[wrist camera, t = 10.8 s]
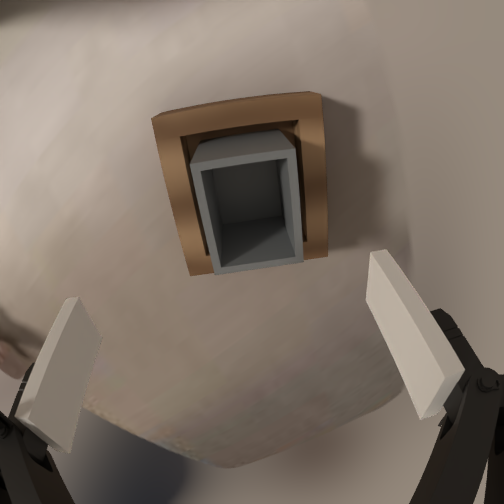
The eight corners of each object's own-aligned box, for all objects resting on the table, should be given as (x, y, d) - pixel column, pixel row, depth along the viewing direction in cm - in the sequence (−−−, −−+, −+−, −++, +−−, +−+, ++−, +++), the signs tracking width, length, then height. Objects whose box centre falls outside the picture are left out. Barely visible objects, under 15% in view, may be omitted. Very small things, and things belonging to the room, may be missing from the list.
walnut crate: (161, 112, 26) (151, 118, 23) (309, 91, 26) (321, 94, 23) (193, 254, 34) (190, 276, 31) (318, 236, 34) (328, 256, 31)
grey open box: (200, 140, 27) (189, 164, 20) (278, 128, 27) (295, 148, 20) (217, 228, 32) (215, 275, 25) (287, 217, 32) (303, 262, 25)
